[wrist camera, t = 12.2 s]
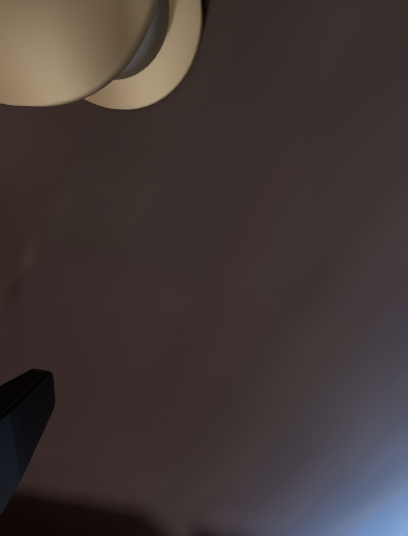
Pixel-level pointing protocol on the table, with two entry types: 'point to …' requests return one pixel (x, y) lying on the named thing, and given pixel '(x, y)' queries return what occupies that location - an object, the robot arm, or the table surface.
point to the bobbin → (96, 50)
